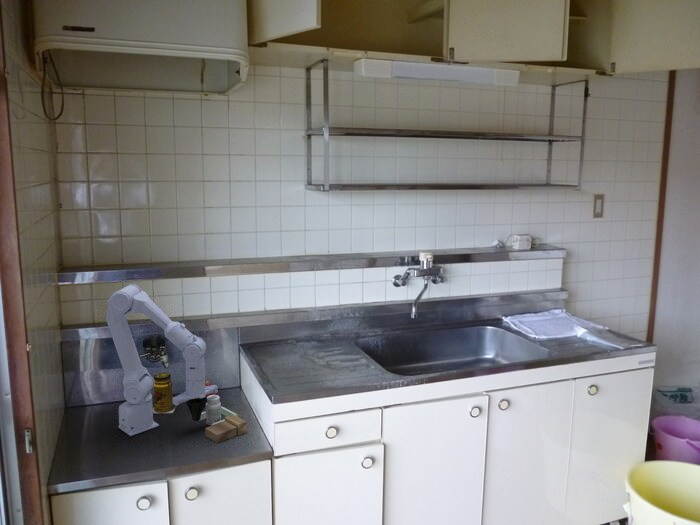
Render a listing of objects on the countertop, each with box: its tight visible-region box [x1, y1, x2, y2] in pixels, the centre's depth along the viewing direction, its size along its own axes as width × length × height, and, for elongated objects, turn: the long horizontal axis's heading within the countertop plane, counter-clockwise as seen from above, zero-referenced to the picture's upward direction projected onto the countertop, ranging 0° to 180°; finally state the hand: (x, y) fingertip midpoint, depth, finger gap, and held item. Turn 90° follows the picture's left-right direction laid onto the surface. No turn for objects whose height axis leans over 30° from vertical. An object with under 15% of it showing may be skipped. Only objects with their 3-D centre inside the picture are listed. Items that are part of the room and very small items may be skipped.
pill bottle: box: [205, 394, 222, 426], centre depth 186 cm, size 5×5×8 cm
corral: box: [200, 405, 240, 426], centre depth 188 cm, size 10×10×2 cm
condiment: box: [152, 372, 177, 414], centre depth 195 cm, size 7×8×12 cm
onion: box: [205, 380, 217, 403], centre depth 199 cm, size 6×6×8 cm
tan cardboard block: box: [204, 421, 238, 444], centre depth 178 cm, size 7×6×3 cm
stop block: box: [224, 414, 247, 436], centre depth 182 cm, size 3×7×4 cm, turn 47°
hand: (196, 420), depth 182 cm, fingers closed
